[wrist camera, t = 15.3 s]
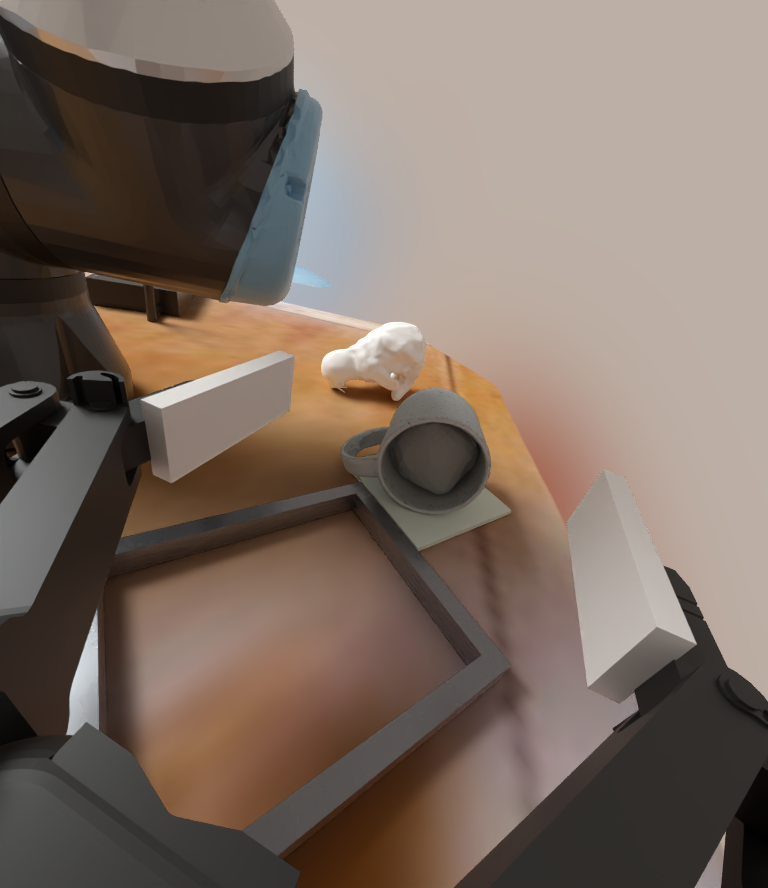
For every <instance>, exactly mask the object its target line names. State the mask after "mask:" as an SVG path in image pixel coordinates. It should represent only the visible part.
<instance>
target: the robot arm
mask: <svg viewBox="0 0 768 888" xmlns="http://www.w3.org/2000/svg"><path fill="white" fill-rule="evenodd" d="M293 70H294V42H293V35H292V32H291V29H290V27H289V25H288V23H287V22H286V20H285V18H284V17H283V15H282V13H281V11H280V10H279V8H278V6H277V4H276V3H275V1H274V0H0V888H297V887H296V883H297V881H298V878H299V875H300V873H301V872H299V871H298V870H297V869H295V868H294V867H292V866H291V865H290V864H288V863H287V862H285V861H284V860H282V859H281V858H280V857H278V856H277V855H275V854H274V853H272V852H271V851H270V850H268V849H267V848H265V847H264V846H262V845H261V844H260V843H258V842H257V841H255V840H254V839H253V838H251V837H250V836H248V835H247V834H245V833H244V832H243V831H239V830H235V829H230V828H225V827H221V826H216V825H212V824H207V823H202V822H198V821H193V820H189V819H184V818H179V817H176V816H173V815H171V814H170V813H169V812H168V811H167V810H166V808H165V807H164V805H163V803H162V802H161V800H160V798H159V797H158V795H157V793H156V792H155V790H154V788H153V787H152V785H151V783H150V782H149V780H148V778H147V777H146V775H145V773H144V772H143V770H142V768H141V767H140V765H139V763H138V762H137V760H136V758H135V757H134V755H133V754H132V753H130V752H129V751H127V750H126V749H124V748H123V747H122V746H120V745H119V744H117V743H116V742H115V741H113V740H112V739H110V738H109V737H107V736H106V735H105V734H103V733H102V732H100V731H99V730H97V729H96V728H95V727H93V726H92V725H90V724H89V723H87V722H86V723H85V724H84V725H83V726H82V727H81V728H80V729H79V730H78V731H77V732H76V733H75V734H74V735H66V734H67V730H68V724H69V717H70V691H71V687H72V683H73V680H74V677H75V674H76V671H77V668H78V665H79V662H80V659H81V656H82V653H83V650H84V647H85V644H86V641H87V637H88V634H89V631H90V628H91V625H92V622H93V619H94V616H95V613H96V610H97V607H98V604H99V601H100V598H101V595H102V592H103V589H104V586H105V583H106V580H107V577H108V574H109V571H110V568H111V565H112V562H113V559H114V556H115V553H116V550H117V547H118V544H119V541H120V538H121V535H122V532H123V529H124V526H125V522H126V519H127V516H128V513H129V510H130V507H131V504H132V501H133V498H134V495H135V492H136V489H137V486H138V483H139V480H140V477H141V466H140V465H141V464H143V463H145V462H147V461H149V460H150V461H151V467H152V473H153V475H155V476H157V477H159V478H161V479H163V480H165V481H167V482H169V483H173V482H175V481H176V480H178V479H180V478H181V477H183V476H184V475H186V474H188V473H189V472H191V471H193V470H194V469H196V468H197V467H199V466H201V465H202V464H204V463H206V462H207V461H209V460H210V459H212V458H214V457H215V456H217V455H219V454H220V453H222V452H223V451H225V450H227V449H228V448H230V447H232V446H233V445H235V444H236V443H238V442H240V441H241V440H243V439H245V438H246V437H248V436H249V435H251V434H253V433H254V432H256V431H258V430H259V429H261V428H263V427H264V426H266V425H267V424H269V423H271V422H272V421H274V420H276V419H277V418H279V417H280V416H282V415H284V414H285V413H287V412H289V411H290V402H291V391H292V380H293V368H294V357H295V356H293V355H291V354H288V353H285V352H283V351H277V352H274V353H271V354H268V355H265V356H263V357H260V358H257V359H254V360H251V361H248V362H245V363H243V364H240V365H237V366H234V367H231V368H228V369H226V370H223V371H220V372H217V373H214V374H211V375H209V376H206V377H203V378H200V379H197V380H192V381H185V382H183V383H180V384H177V385H174V386H173V387H168V388H165V389H163V391H162V390H159V391H157V392H154V393H151V394H148V395H145V396H142V397H139V398H136V399H133V398H134V388H133V382H132V377H131V371H130V368H129V366H128V363H127V362H126V360H125V358H124V357H123V355H122V353H121V351H120V350H119V348H118V346H117V345H116V343H115V341H114V339H113V338H112V336H111V334H110V333H109V331H108V329H107V327H106V326H105V324H104V322H103V321H102V319H101V317H100V316H99V314H98V312H97V310H96V309H95V307H94V305H93V304H92V301H91V299H90V296H89V291H88V287H87V283H86V278H85V273H84V272H89V273H94V274H98V275H103V276H108V277H112V278H117V279H122V280H126V281H131V282H136V283H140V284H145V285H150V286H154V287H159V288H164V289H168V290H173V291H177V292H182V293H187V294H191V295H196V296H201V297H205V298H210V299H215V300H219V302H222V303H223V302H224V303H227V302H229V301H234V302H241V303H248V304H255V305H262V306H268V305H274V304H276V303H278V302H280V301H281V300H283V299H284V298H285V296H286V295H287V294H288V292H289V290H290V286H291V282H292V278H293V274H294V269H295V264H296V260H297V255H298V250H299V245H300V240H301V234H302V229H303V224H304V219H305V213H306V208H307V203H308V197H309V192H310V187H311V182H312V176H313V171H314V165H315V159H316V154H317V148H318V141H319V134H320V126H321V121H322V108H321V106H320V104H319V102H318V101H317V100H315V99H314V98H311V97H310V96H309V93H308V92H307V90H302V89H299V92H295V89H294V83H293V82H294V81H293V80H294V79H293V78H294V77H293V76H294V75H293V74H294V73H293V72H294V71H293ZM11 448H15V449H16V451H17V454H15V455H14V456H13V457H11V458H8V457H7V455H6V453H5V449H11ZM566 523H567V531H568V539H569V547H570V555H571V562H572V570H573V578H574V586H575V594H576V601H577V609H578V617H579V625H580V633H581V641H582V648H583V656H584V664H585V672H586V680H587V687H588V688H589V689H591V690H593V691H595V692H597V693H599V694H601V695H603V696H605V697H608V698H610V699H612V700H614V701H616V702H618V703H621V702H622V701H623V700H625V699H626V698H627V697H629V696H630V695H631V694H633V693H634V692H635V695H636V699H637V703H638V708H639V710H638V711H636V712H635V713H634V714H632V715H631V716H629V717H628V718H627V719H625V720H624V721H622V722H621V723H620V724H618V725H617V726H615V727H614V728H613V730H614V732H613V733H612V734H611V735H610V736H609V737H608V738H607V739H606V740H605V741H604V742H603V743H602V744H601V745H600V746H599V747H598V748H597V749H596V750H595V751H594V752H593V753H592V754H591V755H590V756H589V757H588V758H587V759H585V760H584V761H583V762H582V763H581V764H580V765H579V766H578V767H577V768H576V769H575V770H574V771H573V772H572V773H571V774H570V775H569V776H568V777H567V778H566V779H565V780H564V781H563V782H562V783H561V784H560V785H559V786H558V787H557V788H556V789H555V790H554V791H553V792H552V793H551V794H549V795H548V796H547V797H546V798H545V799H544V800H543V801H542V802H541V803H540V804H539V805H538V806H537V807H536V808H535V809H534V810H533V811H532V812H531V813H530V814H529V815H528V816H527V817H526V818H525V819H524V820H523V821H522V822H521V823H520V824H519V825H518V826H517V827H516V828H515V829H513V830H512V831H511V832H510V833H509V834H508V835H507V836H506V837H505V838H504V839H503V840H502V841H501V842H500V843H499V844H498V845H497V846H496V847H495V848H494V849H493V850H492V851H491V852H490V853H489V854H488V855H487V856H486V857H485V858H484V859H483V860H482V861H481V862H480V863H479V864H477V865H476V866H475V867H474V868H473V869H472V870H471V871H470V872H469V873H468V874H467V875H466V876H465V877H464V878H463V879H462V880H461V881H460V882H459V883H458V884H457V885H456V886H455V887H454V888H694V887H695V886H696V884H697V882H698V880H699V878H700V877H701V875H702V873H703V871H704V869H705V868H706V866H707V864H708V862H709V860H710V859H711V857H712V855H713V853H714V851H715V850H716V848H717V846H718V844H719V842H720V841H721V839H722V837H723V835H724V833H725V832H726V837H725V849H724V860H723V872H722V883H721V888H768V701H767V700H766V699H765V697H764V696H763V695H762V694H761V693H760V692H759V691H758V690H757V689H756V688H755V687H754V686H753V685H752V684H751V683H750V682H749V681H747V680H746V679H745V678H743V677H742V676H741V675H739V674H738V673H737V672H735V671H734V670H731V669H730V668H728V667H727V665H726V663H725V661H724V659H723V657H722V654H721V652H720V650H719V648H718V646H717V644H716V642H715V640H714V638H713V636H712V634H711V632H710V629H709V628H708V625H707V623H706V621H704V620H703V618H704V617H703V615H702V613H701V611H700V609H699V607H697V602H696V600H695V598H694V596H693V594H692V592H691V590H690V588H689V586H688V585H687V584H686V583H685V582H684V581H683V580H682V578H681V577H680V576H679V575H678V574H677V572H676V571H675V570H673V569H670V568H668V567H665V566H663V564H662V562H661V560H660V557H659V555H658V553H657V550H656V548H655V545H654V543H653V541H652V539H651V536H650V534H649V532H648V529H647V527H646V524H645V522H644V520H643V517H642V515H641V513H640V511H639V508H638V506H637V503H636V501H635V499H634V496H633V494H632V492H631V489H630V487H629V485H628V482H627V480H626V478H625V477H623V476H621V475H618V474H615V473H612V472H609V471H607V470H603V471H602V472H601V473H600V475H599V476H598V478H597V480H596V481H595V482H594V484H593V485H592V487H591V488H590V490H589V491H588V492H587V494H586V495H585V497H584V498H583V499H582V501H581V502H580V504H579V505H578V507H577V508H576V509H575V511H574V512H573V514H572V515H571V517H570V518H569V520H568V521H567V522H566Z"/></svg>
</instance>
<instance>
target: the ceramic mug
mask: <svg viewBox="0 0 768 888" xmlns="http://www.w3.org/2000/svg"><path fill="white" fill-rule="evenodd" d="M378 444H381V445H380V448H379V451H378V454H377V457H374V458H363V457H361V458H359V457H355V456H356V454H357V453H358V452H359V451H360V450H362V449H364V448H367V447H370V446H375V445H378ZM340 454H341V457H342V461H343V464H344V467H345V469H346V470H347V471H348V472H349V473H350V474H353V475H355V476H361V477H378V478H379V481H380V483H381V485H382V487H383V489H384V490H385V492H386V493H387V494H388V495H389V496H390V497H391V498H392V499H393V500H394V501H395V502H397V503H398V504H400V505H402V506H403V507H405V508H407V509H410V510H412V511H415V512H419V513H424V514H430V515H436V514H446V513H450V512H454V511H457V510H459V509H461V508H464V507H465V506H467V505H468V504H470V503H471V502H472V501H473V500H475V499H476V498H477V496H478V495H479V494H480V493H481V492H482V490H483V489H484V487H485V485H486V483H487V480H488V478H489V475H490V469H491V459H490V452H489V449H488V446H487V444H486V441H485V438H484V435H483V432H482V429H481V427H480V423H479V420H478V418H477V415H476V413H475V411H474V409H473V408H472V407H471V406H470V404H469V403H468V402H467V401H466V400H465V399H464V398H462V397H461V396H460V395H458V394H456V393H454V392H452V391H450V390H446V389H440V388H429V389H424V390H421V391H418V392H416V393H414V394H412V395H411V396H409V397H408V398H407V399H406V400H404V401H403V402H402V404H401V405H400V406H399V407H398V408H397V410H396V411H395V413H394V415H393V418H392V420H391V423H390V426H389V427H382V428H375V429H371V430H367V431H364V432H361V433H359V434H357V435H355V436H353V437H352V438H350V439H349V440H348V441H347V442H346V443H345V444H344V445H343V446H342V449H341V453H340Z"/></svg>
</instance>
